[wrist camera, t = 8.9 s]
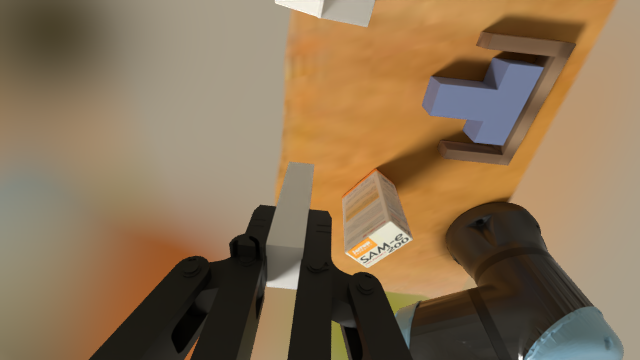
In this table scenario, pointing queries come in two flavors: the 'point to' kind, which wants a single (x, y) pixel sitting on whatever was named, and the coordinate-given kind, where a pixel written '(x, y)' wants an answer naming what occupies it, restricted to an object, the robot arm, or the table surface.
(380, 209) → the supplement box
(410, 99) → the table surface
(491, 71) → the slate blue t block
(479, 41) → the walnut dock
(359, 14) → the milk carton
